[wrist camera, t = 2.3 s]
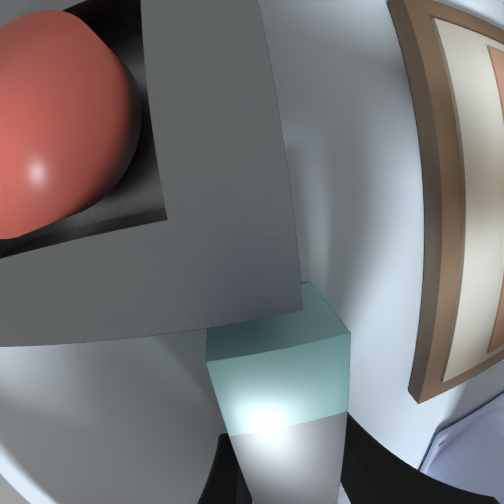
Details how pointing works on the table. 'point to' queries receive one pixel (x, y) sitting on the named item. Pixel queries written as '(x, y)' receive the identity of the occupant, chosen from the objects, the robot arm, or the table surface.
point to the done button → (60, 120)
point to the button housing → (168, 189)
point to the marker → (285, 400)
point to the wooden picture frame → (457, 189)
